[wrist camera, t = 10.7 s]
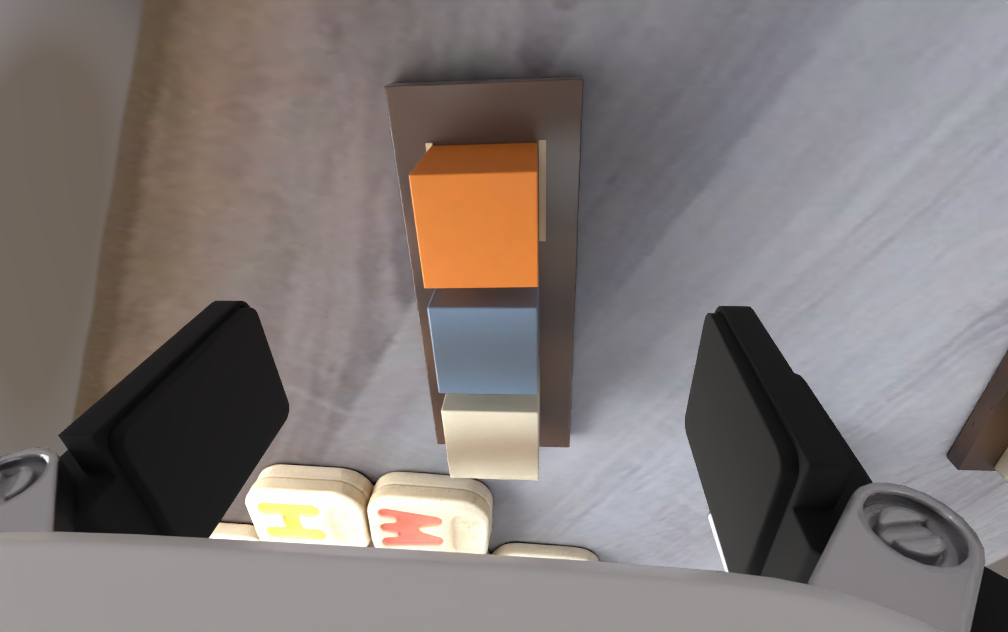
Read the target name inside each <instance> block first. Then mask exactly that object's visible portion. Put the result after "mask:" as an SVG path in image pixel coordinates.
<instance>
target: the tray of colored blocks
mask: <svg viewBox="0 0 1008 632" xmlns="http://www.w3.org/2000/svg"><path fill="white" fill-rule="evenodd" d="M384 88H385V94H386V101H387V108H388V115H389V121H390V128H391V135H392V141H393V148H394V155H395V162H396V168H397V175H398V182H399V188H400V195H401V202H402V208H403V215H404V222H405V229H406V235H407V242H408V249H409V255H410V262H411V269H412V275H413V282H414V289H415V296H416V302H417V309H418V316H419V322H420V329H421V336H422V343H423V349H424V356H425V363H426V369H427V376H428V383H429V389H430V396H431V403H432V410H433V416H434V423H435V430H436V436H437V443H438V444H446V450H447V457H448V464H449V472H450V477H451V478H482V479H514V480H539V447H569V446H570V420H571V393H572V367H573V340H574V314H575V287H576V261H577V234H578V208H579V181H580V155H581V128H582V102H583V78H582V77H581V76H578V77H550V78H523V79H495V80H467V81H439V82H411V83H391V84H389V85H386V86H385V87H384ZM506 143H537V159H538V276H539V285H538V287H499V288H424V282H423V275H422V268H421V261H420V254H419V246H418V239H417V232H416V225H415V218H414V210H413V203H412V196H411V189H410V182H409V174H410V173H411V172H412V170H413V169H414V168H415V166H416V165H417V164H418V163H419V161H420V160H421V159H422V157H423V156H424V155H425V154H426V152H427V151H428V150H429V148H430V147H431V146H443V145H475V144H506Z"/></svg>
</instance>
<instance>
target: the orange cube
mask: <svg viewBox="0 0 1008 632" xmlns="http://www.w3.org/2000/svg"><path fill="white" fill-rule="evenodd" d="M409 182H410V189H411V196H412V203H413V210H414V218H415V225H416V232H417V239H418V246H419V254H420V261H421V268H422V275H423V282H424V288H499V287H538V285H539V276H538V159H537V143H506V144H475V145H443V146H431V147H430V148H429V150H428V151H427V152H426V154H425V155H424V156H423V157H422V159H421V160H420V161H419V163H418V164H417V165H416V166H415V168H414V169H413V170H412V172H411V173H410V174H409Z"/></svg>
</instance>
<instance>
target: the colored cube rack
mask: <svg viewBox="0 0 1008 632" xmlns="http://www.w3.org/2000/svg"><path fill="white" fill-rule="evenodd" d="M947 458H948V459H949V460H950V462H951V463H952V464H953V465H954V466H955V467H956V468H957V469H958V470H982V471H997V472H998V473H999V474H1000V475H1001V476H1002V477H1003V478H1004V479H1005V480H1006V481H1007V482H1008V352H1007V354H1006V356H1005V357H1004V359H1003V361H1002V362H1001V364H1000V366H999V368H998V369H997V371H996V373H995V374H994V376H993V378H992V380H991V381H990V383H989V385H988V387H987V388H986V390H985V392H984V393H983V395H982V397H981V399H980V400H979V402H978V404H977V405H976V407H975V409H974V411H973V412H972V414H971V416H970V417H969V419H968V421H967V423H966V424H965V426H964V428H963V429H962V431H961V433H960V435H959V436H958V438H957V440H956V441H955V443H954V445H953V447H952V448H951V450H950V452H949V453H948V455H947Z"/></svg>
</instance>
